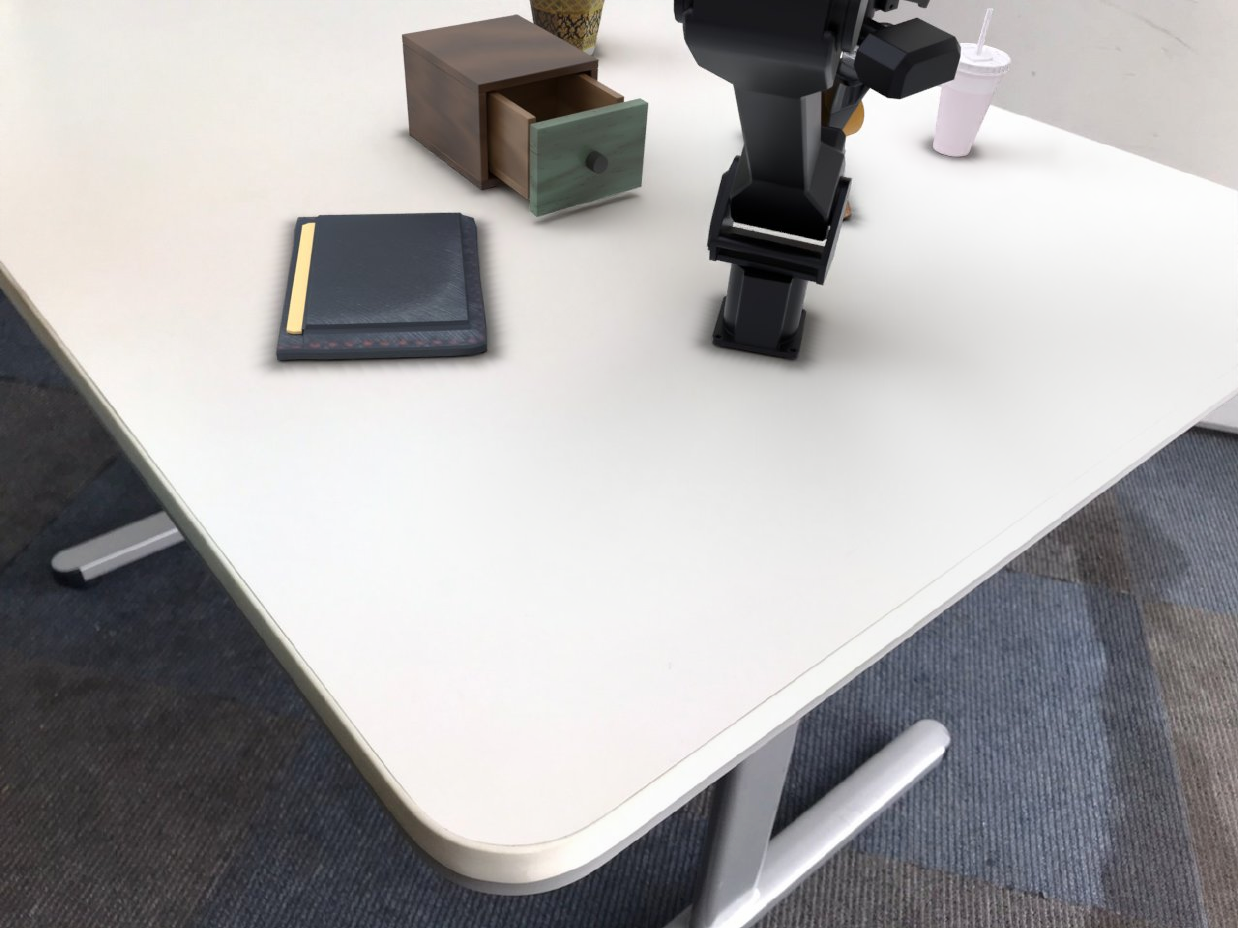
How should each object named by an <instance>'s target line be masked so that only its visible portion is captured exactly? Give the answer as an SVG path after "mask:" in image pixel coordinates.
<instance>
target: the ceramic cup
mask: <svg viewBox="0 0 1238 928" xmlns="http://www.w3.org/2000/svg"><path fill="white" fill-rule="evenodd" d="M605 1H606V0H529V4H530V10H531V17H532V23H534V24H535V25H537V26H539V27H541V28H542V29H544V30H546V31H548V32H550V33H551V34H553V35H555V36H557V37H559V38H560V39H562V40H564V41H566V42H568V43H569V44H571V45H573V46H575V47H576V48H578V49H580V50H582V51H584V52H585V53H587V54H589V55H591V56H593V54H594V53H595V47H596V44H597V38H598V33H599V30H600V25H601V19H602V16H603V15H602V14H603V9H604V5H605Z"/></svg>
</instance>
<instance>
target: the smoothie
mask: <svg viewBox="0 0 1238 928" xmlns="http://www.w3.org/2000/svg"><path fill="white" fill-rule="evenodd" d="M993 13H994V8H992V7H988V8H987V9H986V12H985V16H984V20H983V23H982V26H981V30H980V34H979V37H978V41H977V43H973V42H958V43H959V44H960V46H961V57H960V60H959V64H958V68H957V71H956V75H955V78H954V80H952V81H949V82H946V83H944V84H941V88H940V95H939V101H938V107H937V116H936V121H935V127H934V134H933V135H934V136H933V143H932V148H933V150H935V151H936V152H937V153H939V154H941V155H944V156H949V157H953V158H954V157H956V158H958V157H959V158H961V157H965V156H967V155H969V153H970V151H971V149H972V147H973V144H974V142H975V140H976V138H977V136H978V133H979V131H980V129H981V126H982V124H983V122H984V119H985V117H986V115H987V113H988V110H989V109H990V105H991V103H992V101H993V99H994V97H995V94H996V92H997V91H998V89H999V87H1000V83H1001V81H1002V78H1003V77H1004V75H1005V74H1007V73H1008V72H1009V70H1010V65H1011V62H1012V59H1011V56H1010V55H1009V54H1007V53H1006V52H1005V51H1003V50H1001V49H999V48H996V47H993V46H990V45H987V44H985V40H986V38H987V34H988V30H989V26H990V24H991V19H992V17H993Z"/></svg>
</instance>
